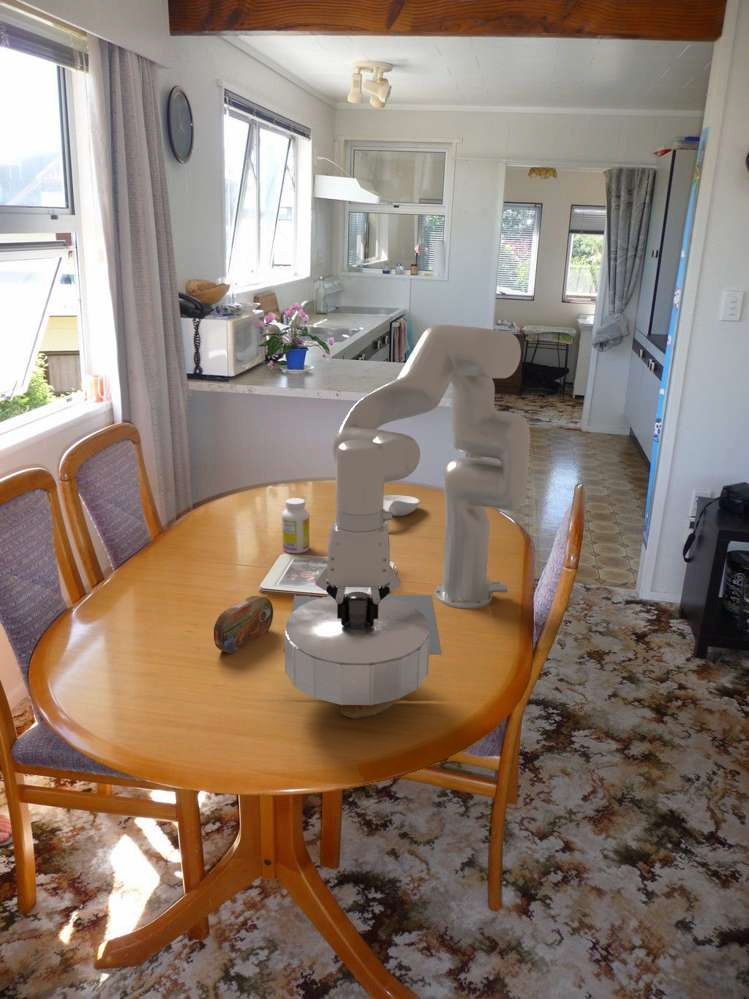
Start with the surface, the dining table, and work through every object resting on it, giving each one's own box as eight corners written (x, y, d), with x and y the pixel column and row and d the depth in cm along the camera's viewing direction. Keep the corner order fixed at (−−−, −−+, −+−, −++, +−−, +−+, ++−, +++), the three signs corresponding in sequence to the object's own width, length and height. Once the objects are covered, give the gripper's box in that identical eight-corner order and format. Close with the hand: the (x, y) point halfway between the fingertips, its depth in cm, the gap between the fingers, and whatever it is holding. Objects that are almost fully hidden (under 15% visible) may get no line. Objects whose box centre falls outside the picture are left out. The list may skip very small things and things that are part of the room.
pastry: (357, 727, 133) (358, 707, 132) (330, 710, 137) (330, 691, 136) (397, 706, 139) (398, 686, 138) (369, 690, 144) (370, 671, 143)
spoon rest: (384, 503, 239) (385, 480, 237) (423, 508, 236) (424, 485, 234) (360, 531, 218) (360, 505, 216) (402, 536, 215) (403, 510, 213)
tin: (224, 661, 152) (222, 620, 149) (211, 656, 153) (209, 616, 151) (275, 629, 164) (274, 591, 161) (262, 625, 165) (261, 587, 163)
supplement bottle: (305, 543, 208) (305, 495, 204) (312, 553, 202) (312, 503, 198) (280, 545, 206) (279, 497, 202) (285, 555, 200) (285, 506, 196)
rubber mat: (431, 596, 180) (431, 595, 180) (441, 655, 155) (441, 654, 155) (295, 594, 179) (295, 592, 179) (283, 653, 155) (283, 651, 155)
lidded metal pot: (422, 633, 149) (425, 568, 145) (432, 706, 127) (436, 632, 122) (292, 631, 149) (291, 566, 145) (278, 704, 126) (277, 630, 122)
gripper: (411, 511, 133) (407, 612, 139) (308, 509, 133) (308, 611, 139) (413, 527, 126) (409, 633, 132) (304, 525, 126) (305, 632, 131)
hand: (357, 621), depth 135 cm, fingers closed on lidded metal pot, 4 cm apart
